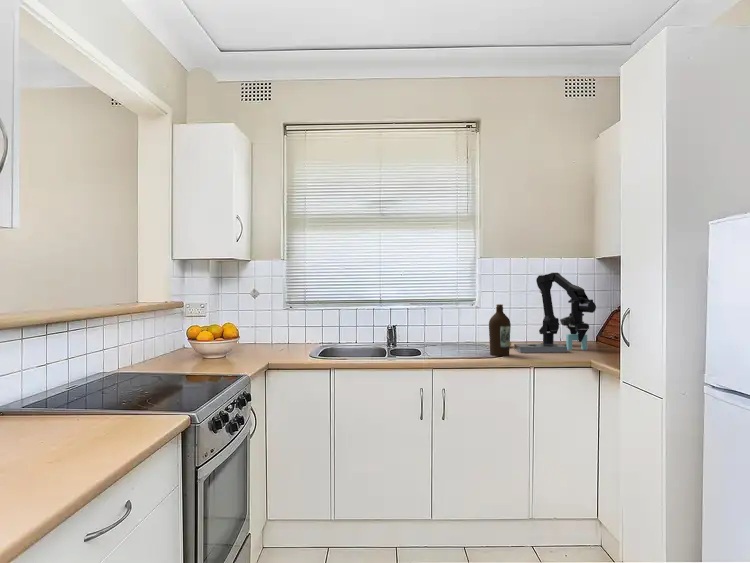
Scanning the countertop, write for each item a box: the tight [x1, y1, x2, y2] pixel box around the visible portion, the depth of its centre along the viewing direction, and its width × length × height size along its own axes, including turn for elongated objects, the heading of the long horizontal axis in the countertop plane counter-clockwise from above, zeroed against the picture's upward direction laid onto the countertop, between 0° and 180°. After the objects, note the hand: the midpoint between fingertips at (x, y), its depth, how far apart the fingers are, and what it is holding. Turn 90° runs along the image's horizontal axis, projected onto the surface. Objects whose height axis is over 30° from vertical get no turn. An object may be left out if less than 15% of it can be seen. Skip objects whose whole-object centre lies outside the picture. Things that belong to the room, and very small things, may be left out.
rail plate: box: [513, 343, 568, 354], centre depth 294 cm, size 12×24×3 cm, turn 91°
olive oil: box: [488, 303, 511, 357], centre depth 281 cm, size 11×11×25 cm
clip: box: [565, 333, 588, 351], centre depth 299 cm, size 3×10×8 cm, turn 91°
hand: (576, 341), depth 299 cm, fingers open, 9 cm apart
